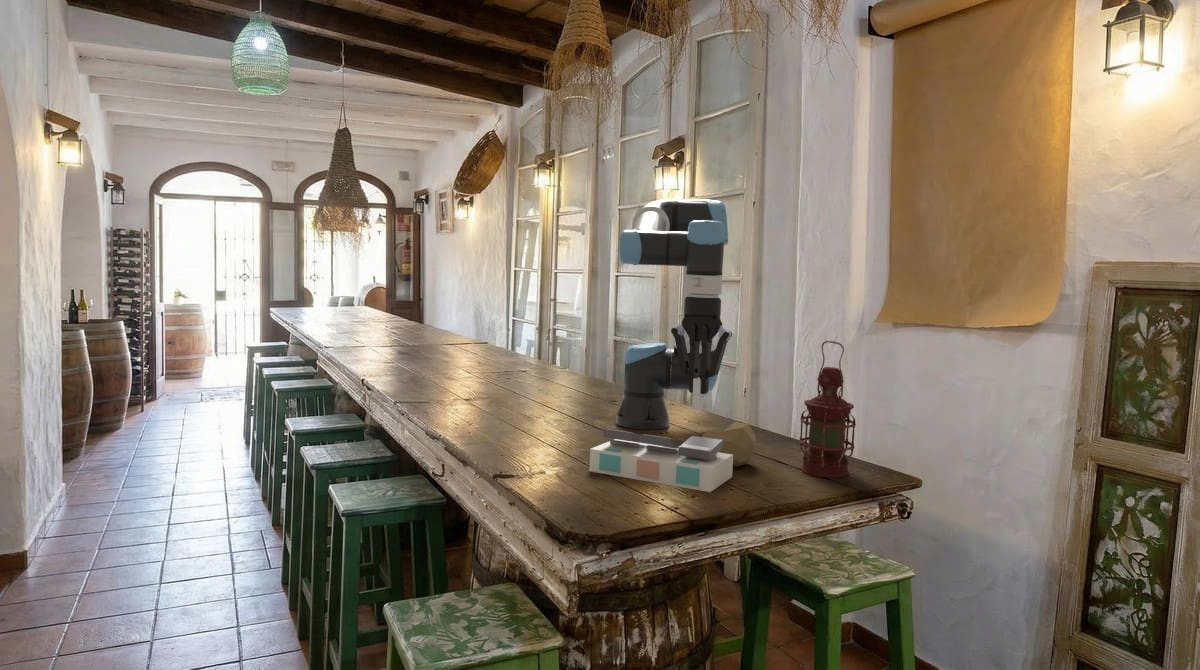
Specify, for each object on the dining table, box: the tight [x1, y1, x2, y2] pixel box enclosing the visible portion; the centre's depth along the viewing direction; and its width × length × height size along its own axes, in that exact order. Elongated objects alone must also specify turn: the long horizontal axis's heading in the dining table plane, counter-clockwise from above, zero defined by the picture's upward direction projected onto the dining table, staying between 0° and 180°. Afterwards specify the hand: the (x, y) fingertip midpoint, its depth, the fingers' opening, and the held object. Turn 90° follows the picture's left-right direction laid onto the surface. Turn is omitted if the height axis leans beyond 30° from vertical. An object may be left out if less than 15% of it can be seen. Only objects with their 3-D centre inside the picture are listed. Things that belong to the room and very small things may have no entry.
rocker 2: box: [678, 435, 723, 460], centre depth 171 cm, size 8×7×2 cm
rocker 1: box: [602, 428, 641, 443], centre depth 179 cm, size 8×7×2 cm
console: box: [588, 439, 734, 493], centre depth 175 cm, size 14×28×6 cm, turn 62°
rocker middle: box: [640, 433, 685, 448], centre depth 175 cm, size 8×7×2 cm
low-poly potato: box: [701, 421, 757, 468], centre depth 186 cm, size 15×11×12 cm
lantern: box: [798, 340, 857, 479], centre depth 181 cm, size 12×12×30 cm
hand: (697, 408), depth 167 cm, fingers closed
